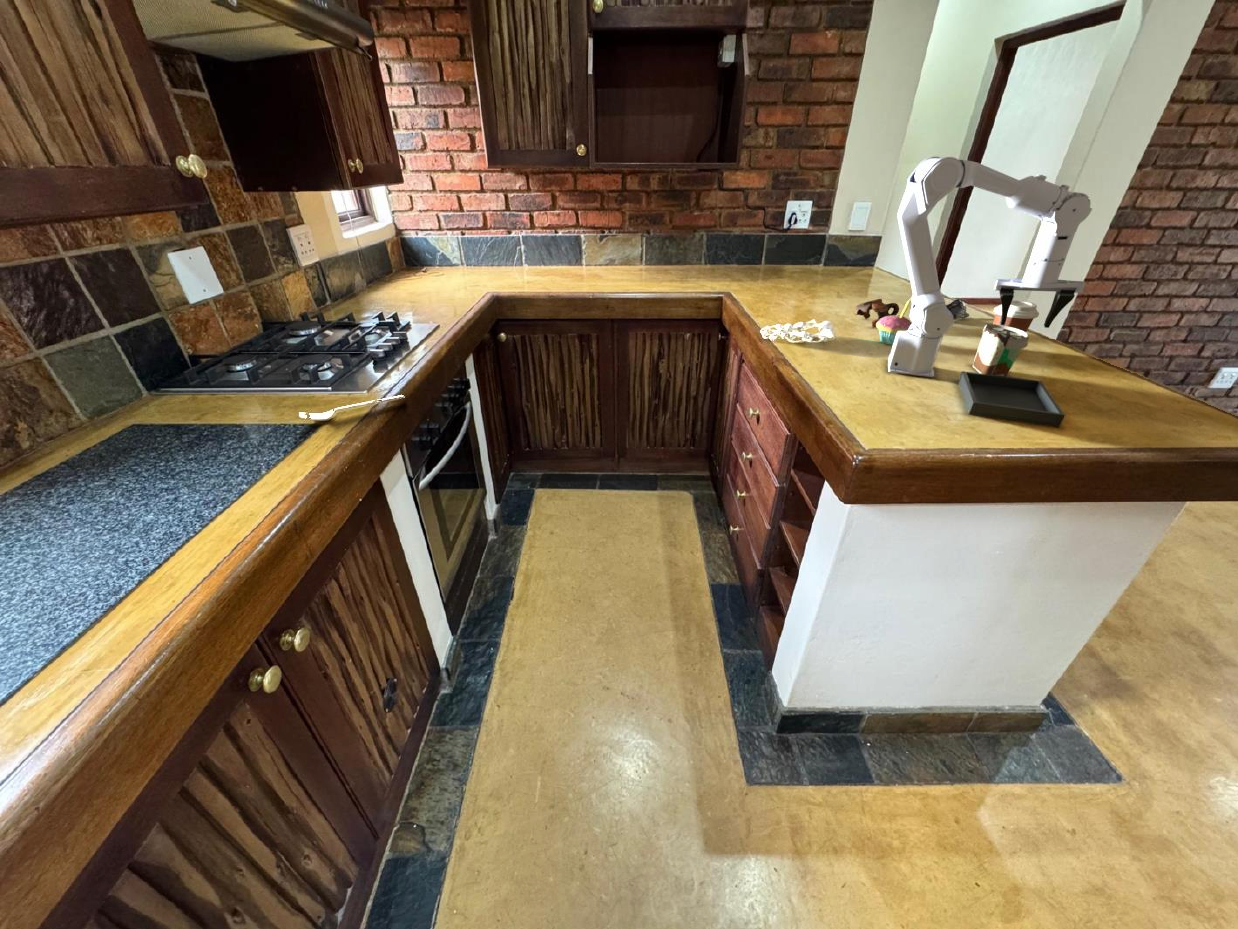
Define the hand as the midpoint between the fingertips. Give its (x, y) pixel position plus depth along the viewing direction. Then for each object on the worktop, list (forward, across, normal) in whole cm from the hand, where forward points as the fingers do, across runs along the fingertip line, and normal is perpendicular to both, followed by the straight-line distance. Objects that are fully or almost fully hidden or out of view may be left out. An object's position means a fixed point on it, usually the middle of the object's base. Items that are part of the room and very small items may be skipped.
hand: (1023, 325), depth 106 cm
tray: (+11, +1, +17) cm, 21 cm away
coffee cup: (+12, +1, -19) cm, 23 cm away
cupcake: (+10, +26, -13) cm, 31 cm away
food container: (+12, +2, 0) cm, 12 cm away
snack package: (+12, +13, -45) cm, 48 cm away
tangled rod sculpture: (+9, +48, -3) cm, 49 cm away
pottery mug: (+10, +32, -29) cm, 45 cm away
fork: (+2, +117, +87) cm, 146 cm away
